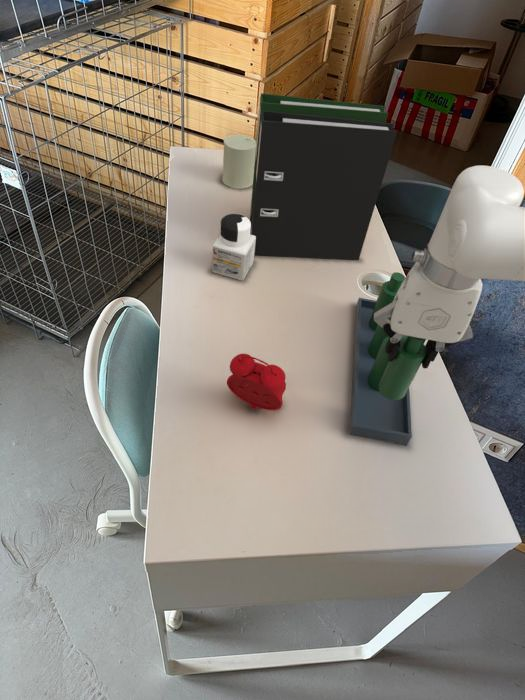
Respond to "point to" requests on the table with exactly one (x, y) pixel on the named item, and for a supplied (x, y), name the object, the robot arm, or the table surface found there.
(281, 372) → the alarm clock
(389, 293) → the bottle
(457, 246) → the robot arm
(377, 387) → the bottle
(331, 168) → the binder
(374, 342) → the bottle
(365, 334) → the tray
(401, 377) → the loose bottle
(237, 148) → the can
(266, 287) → the table surface
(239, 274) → the container
